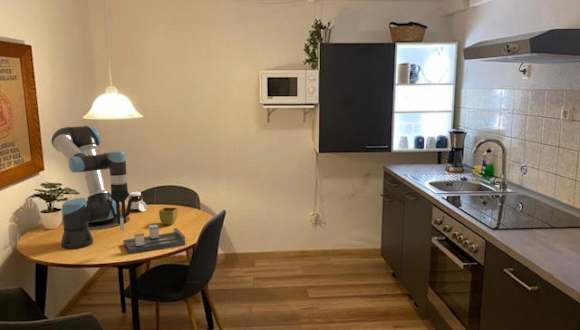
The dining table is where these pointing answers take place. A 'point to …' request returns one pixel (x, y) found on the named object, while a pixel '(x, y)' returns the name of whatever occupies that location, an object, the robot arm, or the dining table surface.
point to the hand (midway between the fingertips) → (122, 230)
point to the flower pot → (168, 215)
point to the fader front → (139, 238)
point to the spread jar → (138, 202)
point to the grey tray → (156, 242)
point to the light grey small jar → (154, 231)
